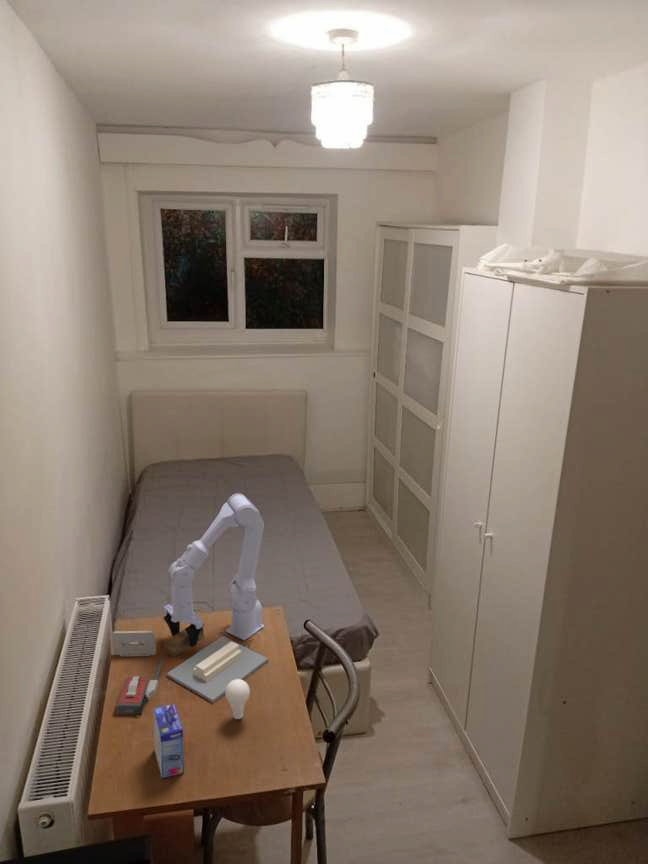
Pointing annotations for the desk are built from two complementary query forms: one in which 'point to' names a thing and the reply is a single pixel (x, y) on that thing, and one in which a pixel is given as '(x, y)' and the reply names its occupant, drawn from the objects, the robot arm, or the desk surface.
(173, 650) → the walnut bar
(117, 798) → the desk surface
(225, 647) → the ridge stand
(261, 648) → the desk surface
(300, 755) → the desk surface
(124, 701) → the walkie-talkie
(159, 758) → the ink cartridge box
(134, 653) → the cassette
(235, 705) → the lightbulb
